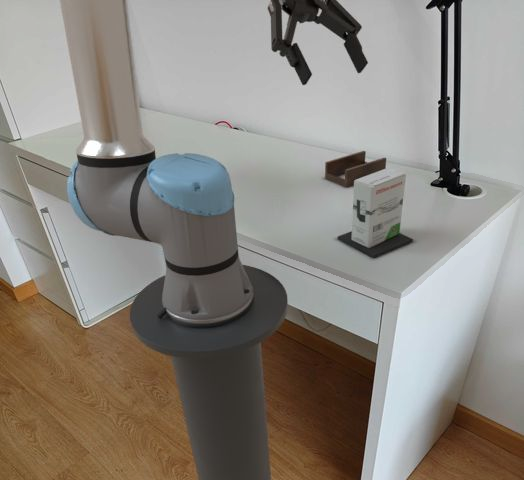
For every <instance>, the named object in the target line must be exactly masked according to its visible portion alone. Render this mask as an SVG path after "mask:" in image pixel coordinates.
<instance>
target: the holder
mask: <svg viewBox="0 0 524 480" xmlns="http://www.w3.org/2000/svg"><path fill="white" fill-rule="evenodd" d="M366 153H367V152H366V150H362V151H359V152H354V153H351V154H348V155H345V156H341V157H337V158H334V159H331V160H328V161H325V163H324V164H325V165H324V179H326V180H328V181H329V182H333V183H335V184H337V185H340V186H342V187H344V188H350V187H352V186H354V180H356V179H359V178H362V177H364V176H367V175H370V174H373V173H375V172H378V171H381V170H384V169H387V168H386V167H387V158H386V157H382V158H378V159H375V160H371V161H366ZM341 175H344V178H343V177H341Z"/></svg>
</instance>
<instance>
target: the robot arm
mask: <svg viewBox="0 0 524 480" xmlns="http://www.w3.org/2000/svg"><path fill="white" fill-rule="evenodd" d="M59 4H60V9H61V15H62V20H63V26H64V27H63V28H64V32H65V37H66V43H67V48H68V54H69V60H70V66H71V71H72V77H73V82H74V88H75V94H76V99H77V104H78V111H79V116H80V122H81V129H82V134H83V139H82V141H81V142H80V143H79V145H78V146H77V148H76V150H75V152H76V158H77V160H76V161H75V162H74V163H73V165H72V166H71V168H70V171H69V173H70V176H68V177H67V181H66V192H67V197H68V200H69V204H70V206H71V208H72V210H73V213H74V214H75V215H76V217H77V218H78V219H79V220H80V221H81V223H83V224H84V225H85V226H87V227H89V229H92V230H95V231H97V232H101V233H103V234H106V235H108V236H113V237H114V236H116V237H123V238H129V239H134V240H139V241H143V242H148V243H155V244H159V245H161V248H162V253H163V256H164V257H163V258H164V260H165V261H164V262H165V266H166V267H165V268H166V269H165V274H164V275H165V281H164V288H163V294H162V303H163V309H162V310H161V311H160V312H159V313H158V314H157V315H156V316H157V317H158V318H159V319H161V318H162V317H163V316H164V315H165V314H166V316H167V317H168V318H169V319H170V320H171V321H173V322H175V323H177V324H179V325H182V326H185V327H191V328H212V327H218V326H222V325H225V324H228V323H231V322H233V321H235V320H237V319H239V318H241V317H242V316H243V315H245V314H246V313H247V312H248V311H249V310H250V308H251V307H252V305H253V301H254V297H253V288H252V285H251V282H250V280H249V278H248V276H247V274H246V272H245V270H244V267H243V265H244V264H243V263H242V261H241V259H240V256H239V255H240V254H239V246H238V234H237V223H236V212H235V193H234V191H233V187H232V181H231V176H230V173H229V171H228V170H227V168H226V167H225V166H224V164H222V163H221V162H220V161H219V160H216V159H215V158H213V157H210V156H207V155H204V154H198V153H191V152H185V153H182V154H180V153H171V154H170V153H168V154H165V155H161V156H158V157H156V148H155V145H154V144H153V143H152V142H151V141H149V140H148V139H147V138H146V137H145V135H144V131H143V123H142V114H141V105H140V98H139V89H138V82H137V71H136V65H135V64H136V63H135V57H134V56H135V55H134V47H133V39H132V29H131V22H130V14H129V5H128V0H59ZM267 11H268V13H269V17H270V41H271V42H270V43H271V45H270V46H271V48H270V49H271V51H272V52H273V53H277V52H279V56H280V57H282V58H286V61H287V62H288V64H289V66H290V67H291V68H293V69H294V71H295V72H296V75H297V76H298V79H299V81H300V83H301V85H302V86H307V84H308V83H309V80H310V79H311V77H312V76H313V72H312V71H311V69H310V67H309V64H308V63H307V61H306V58H305V57H304V55H303V53H302V50H301V49H300V46H299V44H298V42H294V43H293V41H294V37H295V32H296V29H297V25H298V24H304V23H306V22H307V23H312V22H314V23H315V24H317V25H322V26H323V27H325V28H326V29H328V30H329V31H330V32H331V33H333V34H335V35H336V36H338V38H340V39H342V40H343V41H344V42H343V46H344V49H345V50H346V52H347V54H348V57H349V59H350V61H351V62H352V65H353V66H354V68H355V71H356V72H357V74H361V73H362V72H363V70H364V69H365V68H366V66H367V65H368V64H369V62H368V59H367V57H366V55H365V53H364V51H363V45H362V44H361V42H360V39H359V38H358V34H359V33H360V31H362V28H363V27H362V24H360V22H358V21H357V19H356V18H355V17H354V16H353V15H352V14H351V13H350V12H349V11H348V10H347V9H346V8H345V7H344V6H343V5H342V4H340V2H339V1H338V0H270V1H269V4H268V6H267ZM319 11H321V12H320V14H319ZM283 12H284V13H286V14H287V16H288V19H287V23H286V29H285V33H284V36H283ZM318 14H319V15H318Z"/></svg>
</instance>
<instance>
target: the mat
mask: <svg viewBox="0 0 524 480" xmlns="http://www.w3.org/2000/svg"><path fill="white" fill-rule="evenodd" d="M337 240H338V241H340V242H342V243H344V244H346V245H347V246H350V247H352V248H354V249H356V250H357V251H359V252H361V253H363V254H365V255H367V256H369V257H370V258H372V259H376V258H378V257H380V256H383V255H385V254H387V253H390V252H392V251H394V250H397V249H399V248H401V247H404V246H407V245H409V244H411V243H413V241H414V238H412V237H409V236H407V235H405V234H403V233H399V234H398V235H396V236H394V237H392V238H390V239H387V240H385V241H383V242H381V243H379V244H377V245H375V246H373V247H370V248H367V247H365V246H363V245H361V244H359V243H357V242H355V241H353V240H352V230H351V231H348V232H346V233H342V234H341V235H337Z"/></svg>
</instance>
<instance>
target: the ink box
mask: <svg viewBox="0 0 524 480" xmlns="http://www.w3.org/2000/svg"><path fill="white" fill-rule="evenodd" d="M406 177H407V175H406V173H405V172H403V171H398V170H394V169H390V168H385V169H384V170H381V171H378V172H375V173H373V174H370V175H367V176H364V177H362V178H359V179H356V180H354V185H353V197H352V217H351V218H352V219H351V221H352V222H351V231H352V240H353V241H355V242H357V243H359V244H361V245H363V246H365V247H367V248H370V247H373V246H375V245H377V244H379V243H381V242H383V241H385V240H387V239H390V238H392V237H394V236H396V235H398V234H399V233H400V230H401V222H402V213H403V206H404V205H403V203H404V196H405V187H406V186H405V185H406Z"/></svg>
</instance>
